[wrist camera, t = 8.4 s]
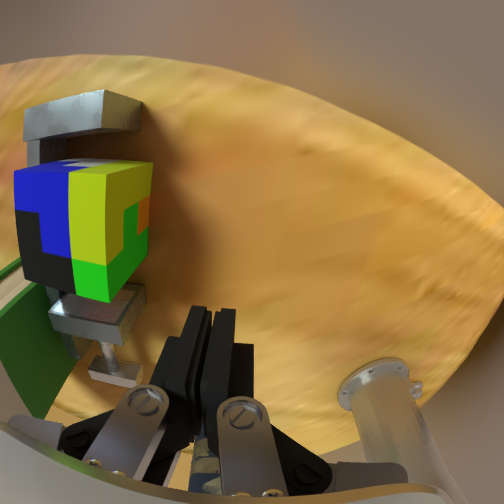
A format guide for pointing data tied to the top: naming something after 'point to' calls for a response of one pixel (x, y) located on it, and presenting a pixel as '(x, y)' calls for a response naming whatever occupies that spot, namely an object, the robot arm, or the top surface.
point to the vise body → (55, 147)
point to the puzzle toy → (83, 223)
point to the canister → (204, 468)
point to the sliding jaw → (104, 330)
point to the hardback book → (28, 348)
